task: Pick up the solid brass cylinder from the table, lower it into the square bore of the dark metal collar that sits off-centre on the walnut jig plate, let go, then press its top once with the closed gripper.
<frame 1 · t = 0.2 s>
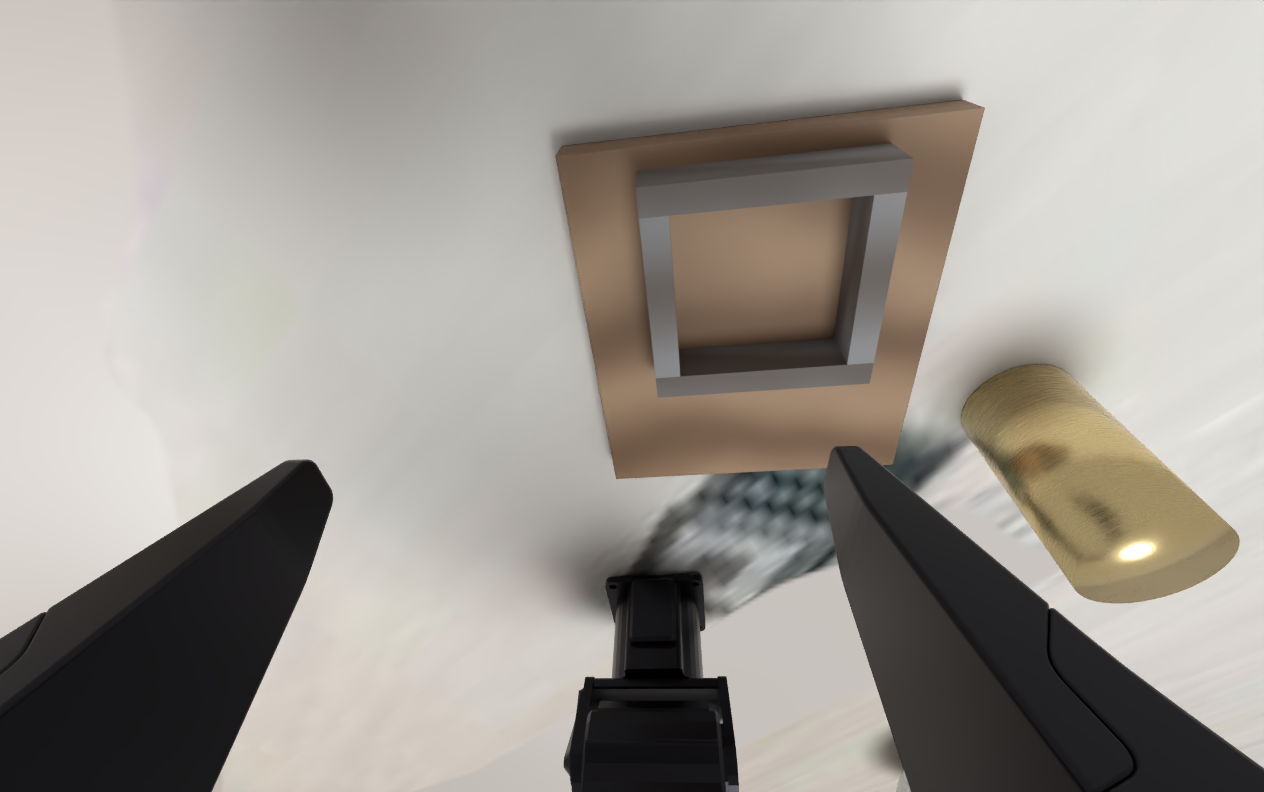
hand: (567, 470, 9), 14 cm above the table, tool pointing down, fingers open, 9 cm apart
solid brass cylinder: (1016, 406, 26), on the table
jig: (750, 321, 24), on the table
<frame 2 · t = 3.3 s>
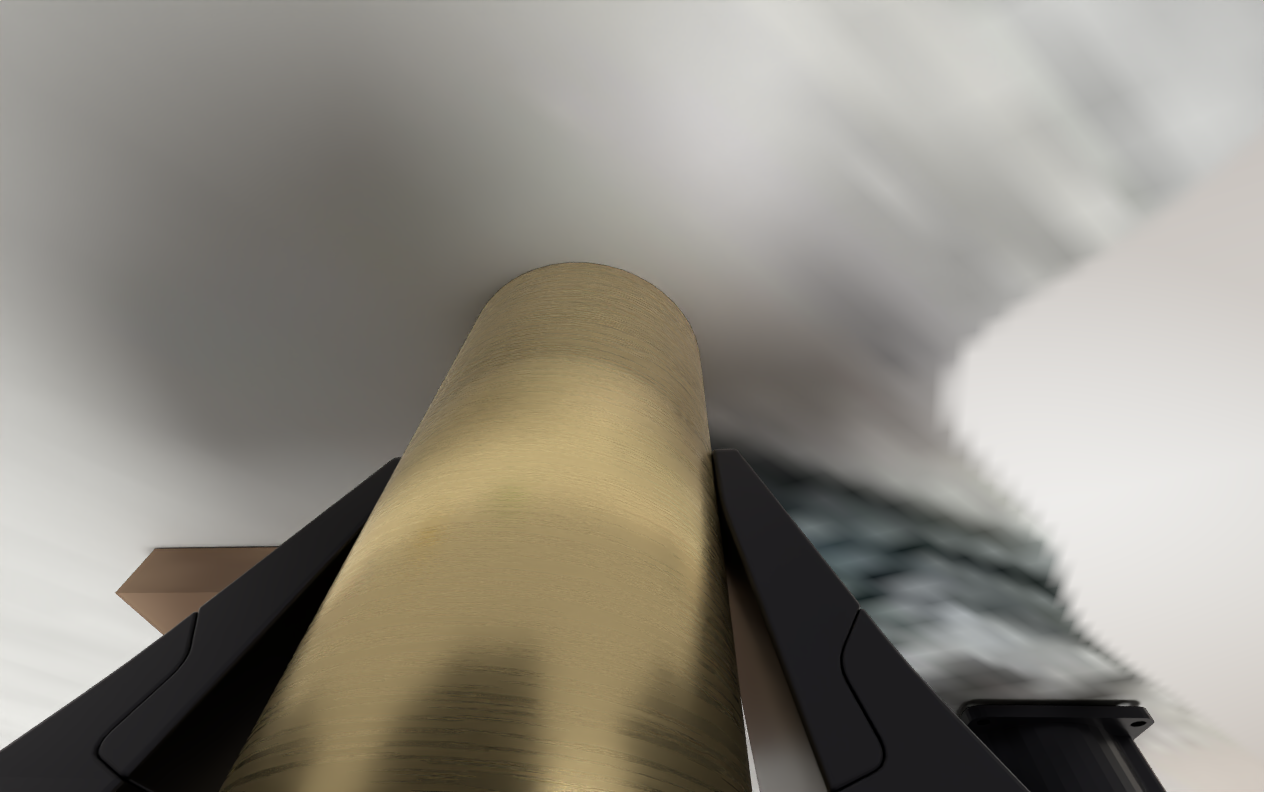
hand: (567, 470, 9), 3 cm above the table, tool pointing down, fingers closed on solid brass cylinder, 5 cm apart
solid brass cylinder: (585, 370, 12), on the table, touching gripper
jig: (468, 662, 20), on the table
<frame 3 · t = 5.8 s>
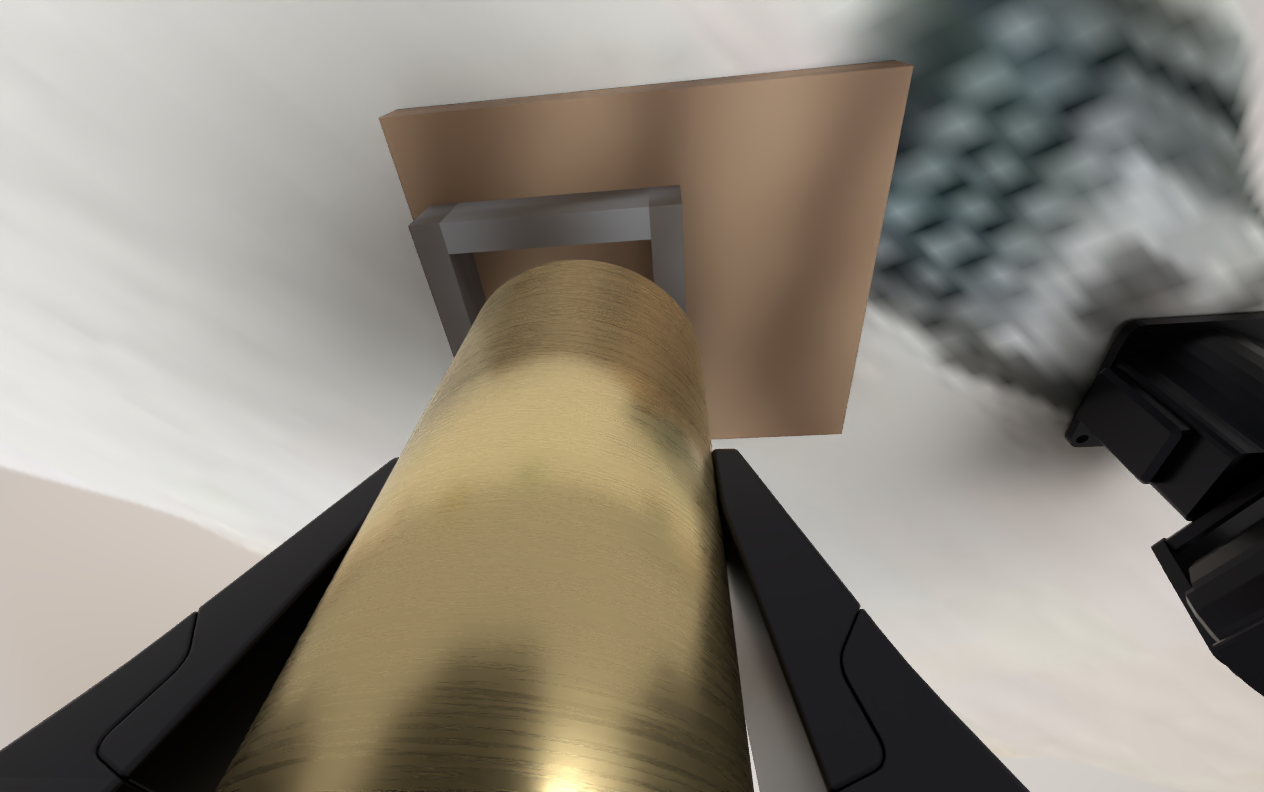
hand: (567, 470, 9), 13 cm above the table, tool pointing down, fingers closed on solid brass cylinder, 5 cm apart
solid brass cylinder: (585, 368, 12), point 10 cm above the table, touching gripper
jig: (651, 286, 21), on the table
when the fingers open (5 cm above the table, at t = 8.7 s): solid brass cylinder stays where it is, resting on jig.
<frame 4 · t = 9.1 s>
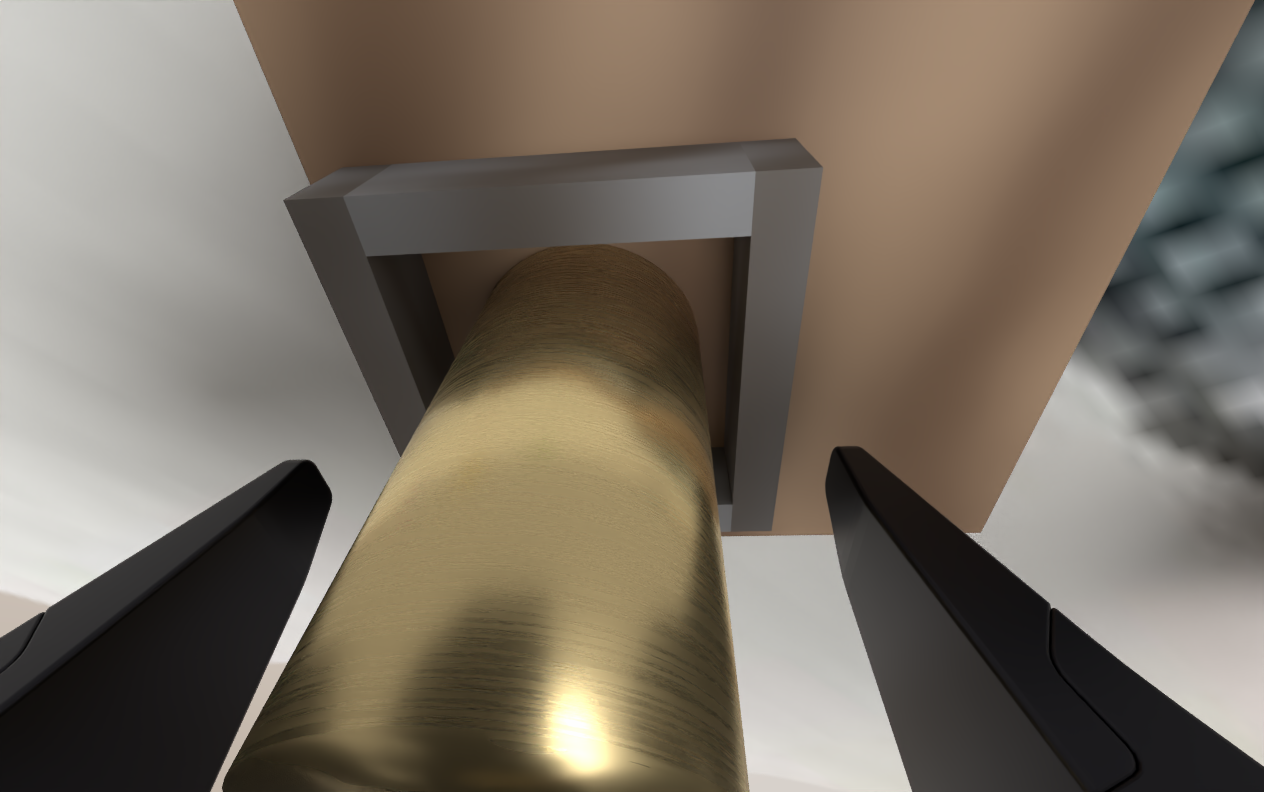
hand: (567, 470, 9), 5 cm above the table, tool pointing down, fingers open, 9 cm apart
solid brass cylinder: (590, 346, 12), point 2 cm above the table, touching jig
jig: (712, 311, 13), on the table
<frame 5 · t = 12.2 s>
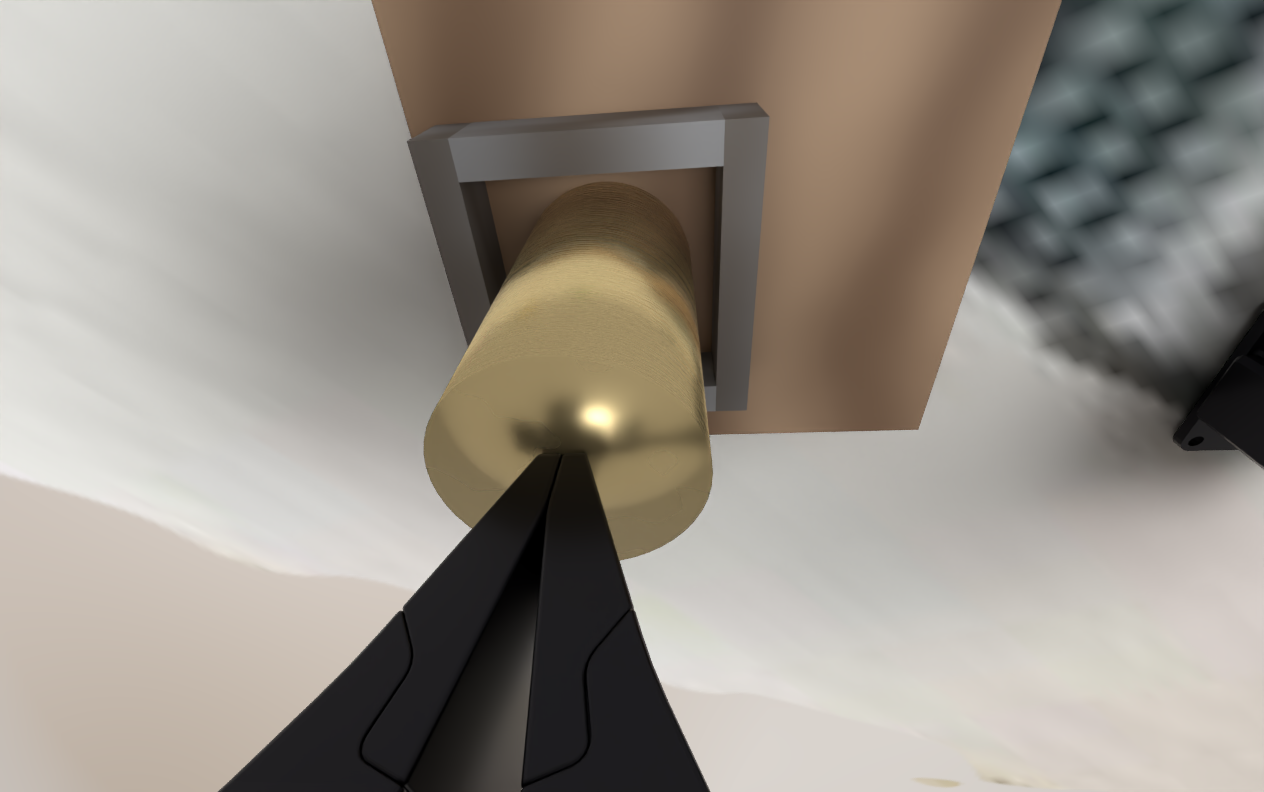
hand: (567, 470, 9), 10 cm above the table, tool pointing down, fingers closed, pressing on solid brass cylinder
solid brass cylinder: (609, 265, 16), point 2 cm above the table, touching gripper, jig
jig: (702, 243, 17), on the table
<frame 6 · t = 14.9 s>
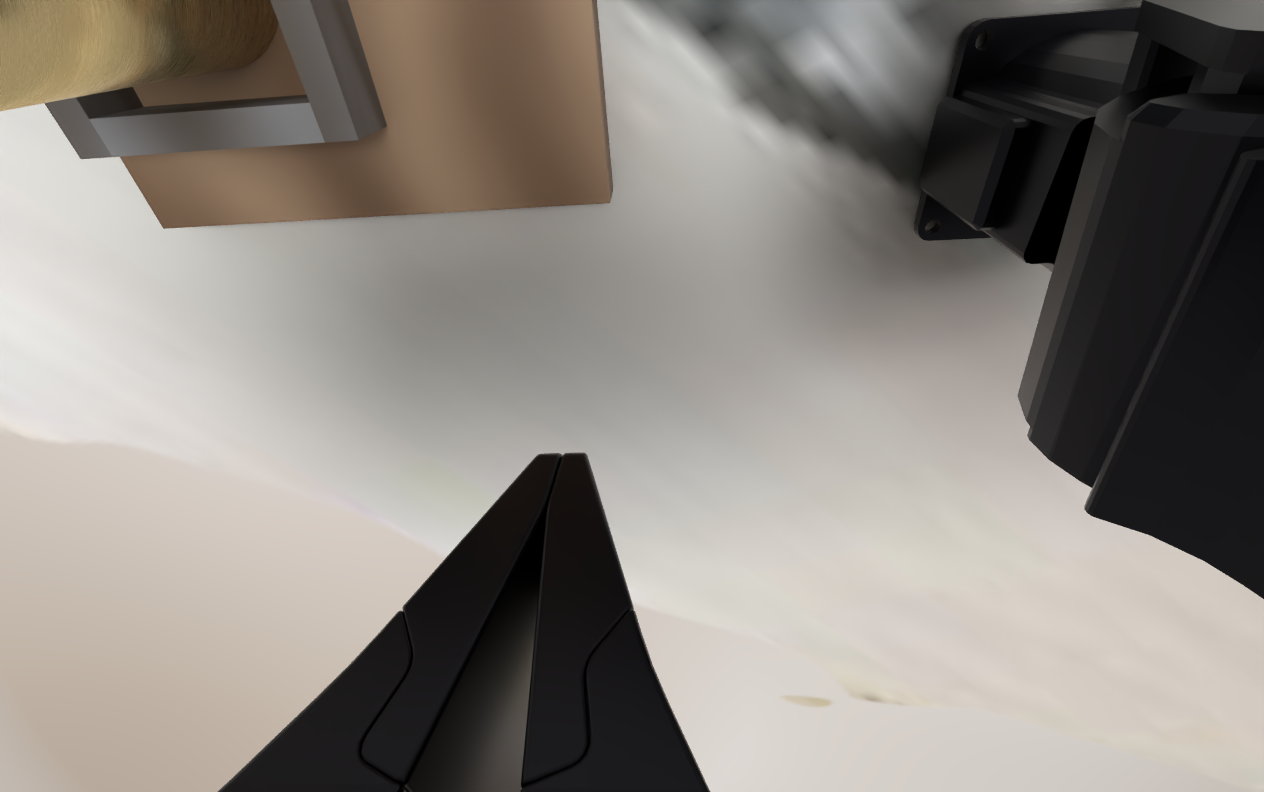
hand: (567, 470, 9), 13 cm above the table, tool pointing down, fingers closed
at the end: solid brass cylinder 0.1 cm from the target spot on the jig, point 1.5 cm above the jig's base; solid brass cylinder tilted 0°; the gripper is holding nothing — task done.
